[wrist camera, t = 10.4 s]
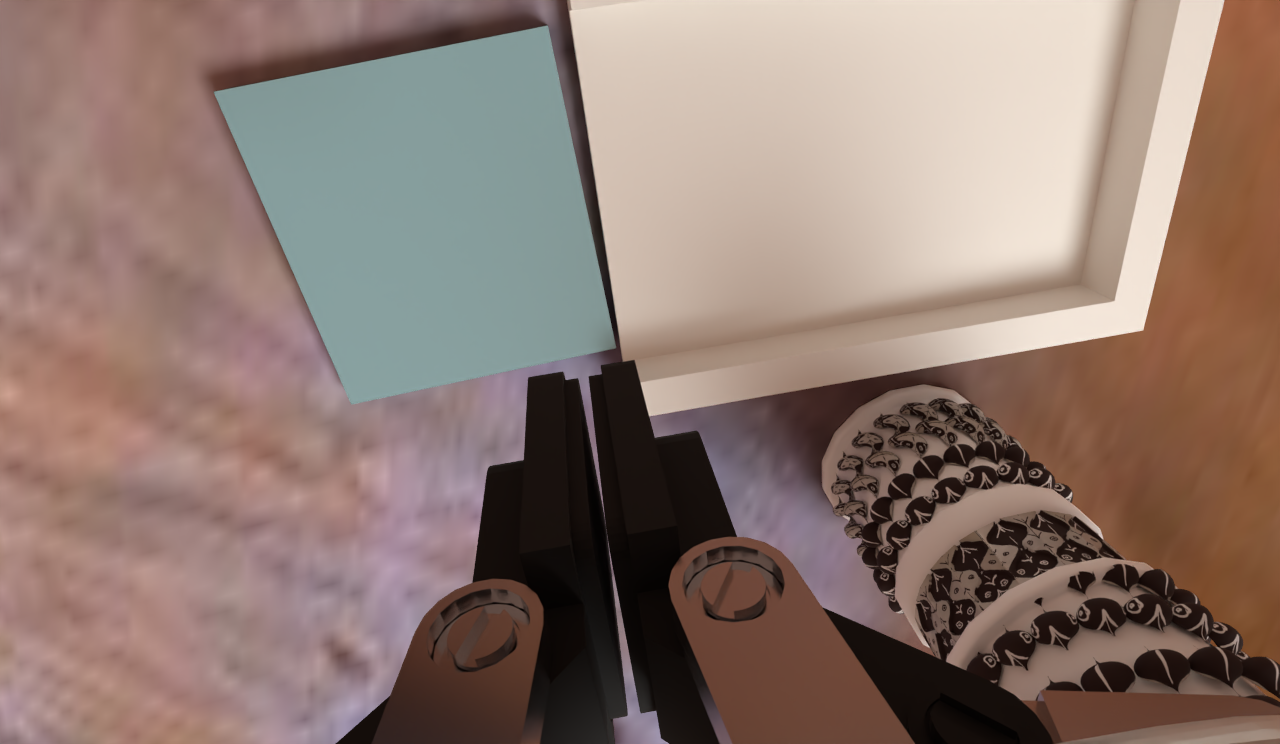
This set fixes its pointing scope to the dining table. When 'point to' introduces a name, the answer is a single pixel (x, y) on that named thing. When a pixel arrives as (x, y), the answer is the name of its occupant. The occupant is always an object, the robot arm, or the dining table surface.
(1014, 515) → the decorative candle
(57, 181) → the dining table surface
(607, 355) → the dining table surface
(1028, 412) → the dining table surface
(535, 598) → the robot arm
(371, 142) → the cover plate
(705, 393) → the white flat tray
